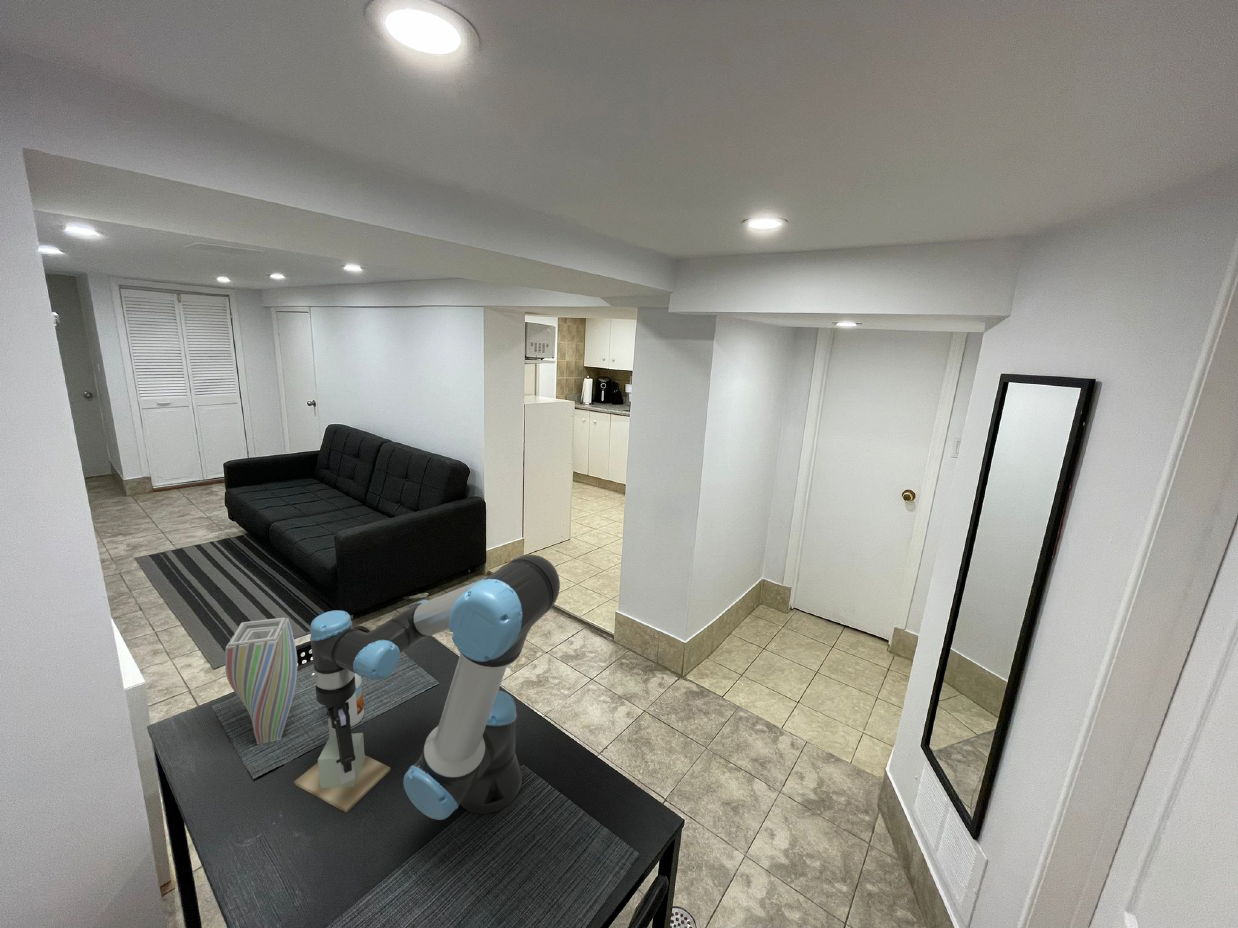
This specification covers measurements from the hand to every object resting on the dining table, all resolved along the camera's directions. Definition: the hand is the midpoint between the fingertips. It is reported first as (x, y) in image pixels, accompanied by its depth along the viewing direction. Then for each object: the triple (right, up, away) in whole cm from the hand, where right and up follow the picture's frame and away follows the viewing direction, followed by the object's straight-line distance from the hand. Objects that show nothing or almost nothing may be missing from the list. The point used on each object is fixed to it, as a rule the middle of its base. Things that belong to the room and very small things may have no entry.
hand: (342, 758), depth 114 cm
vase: (-24, -1, +11) cm, 27 cm away
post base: (0, -5, +1) cm, 5 cm away
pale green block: (0, -4, +1) cm, 4 cm away
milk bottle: (-8, 0, +18) cm, 20 cm away
